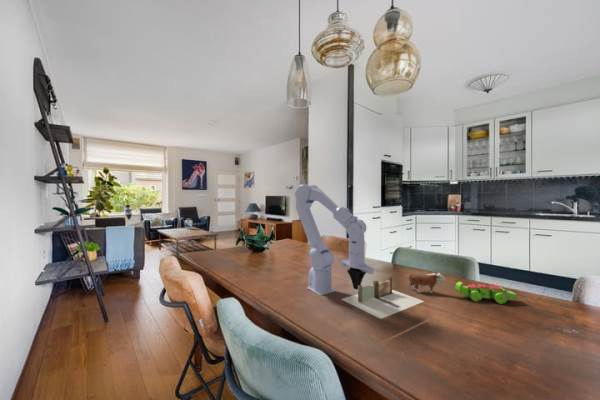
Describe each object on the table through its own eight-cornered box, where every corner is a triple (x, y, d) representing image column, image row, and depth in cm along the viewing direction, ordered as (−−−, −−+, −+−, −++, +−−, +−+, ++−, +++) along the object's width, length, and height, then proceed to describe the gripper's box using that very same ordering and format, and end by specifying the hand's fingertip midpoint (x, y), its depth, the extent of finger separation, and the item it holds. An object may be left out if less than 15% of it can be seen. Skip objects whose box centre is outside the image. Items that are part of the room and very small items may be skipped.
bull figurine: (446, 295, 98) (447, 274, 97) (409, 293, 100) (410, 272, 100) (442, 291, 102) (443, 271, 102) (407, 289, 105) (407, 269, 104)
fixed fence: (376, 298, 93) (376, 282, 93) (371, 297, 95) (371, 281, 95) (393, 293, 99) (393, 278, 99) (389, 291, 101) (389, 276, 101)
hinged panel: (371, 296, 95) (371, 281, 95) (374, 297, 94) (374, 282, 93) (357, 301, 90) (357, 285, 90) (360, 302, 89) (360, 286, 89)
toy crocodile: (510, 298, 95) (511, 282, 95) (521, 306, 89) (521, 289, 89) (452, 293, 100) (452, 278, 100) (458, 300, 94) (458, 284, 94)
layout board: (340, 300, 93) (341, 299, 93) (383, 287, 106) (383, 286, 106) (380, 320, 78) (380, 318, 78) (424, 302, 91) (424, 301, 91)
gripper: (379, 254, 91) (379, 292, 91) (350, 248, 103) (350, 281, 103) (365, 257, 87) (365, 296, 87) (337, 250, 99) (337, 284, 99)
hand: (356, 288), depth 95 cm, fingers closed
